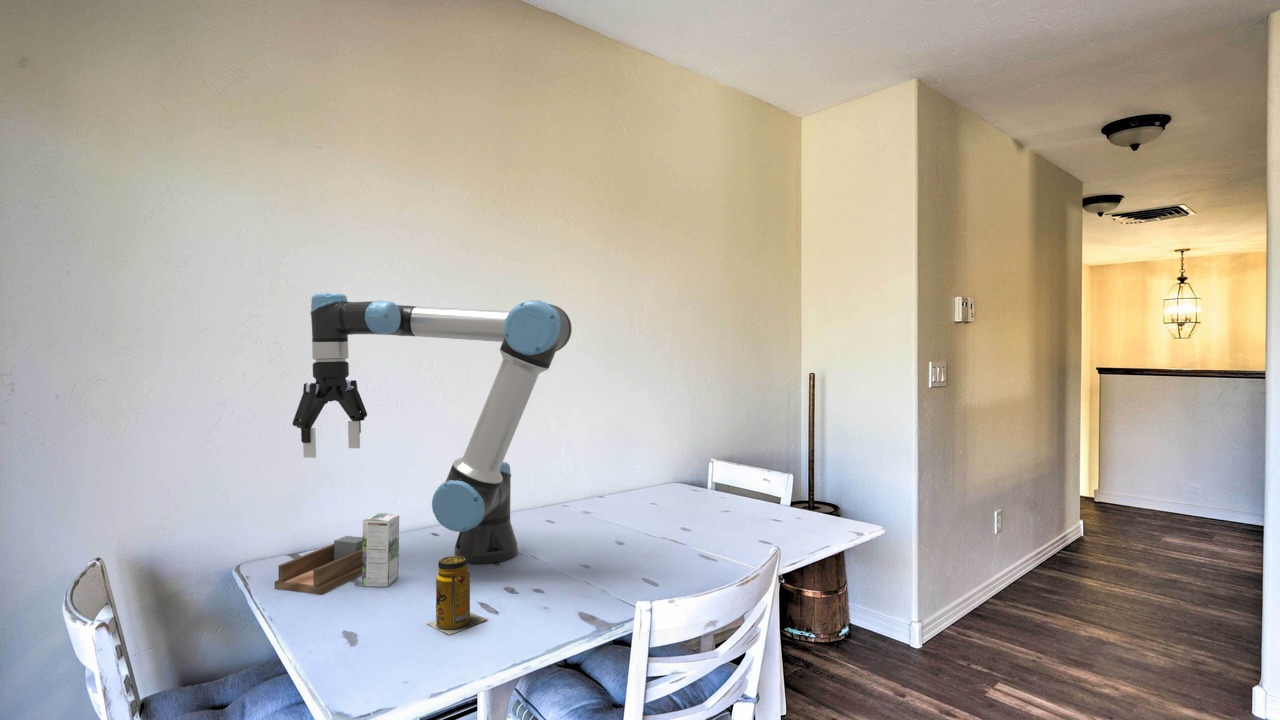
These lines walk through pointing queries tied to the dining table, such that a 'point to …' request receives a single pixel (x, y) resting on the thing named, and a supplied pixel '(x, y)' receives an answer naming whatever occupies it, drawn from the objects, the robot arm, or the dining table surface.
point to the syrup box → (380, 550)
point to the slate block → (347, 546)
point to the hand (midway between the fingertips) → (333, 452)
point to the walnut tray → (319, 571)
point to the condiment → (453, 596)
